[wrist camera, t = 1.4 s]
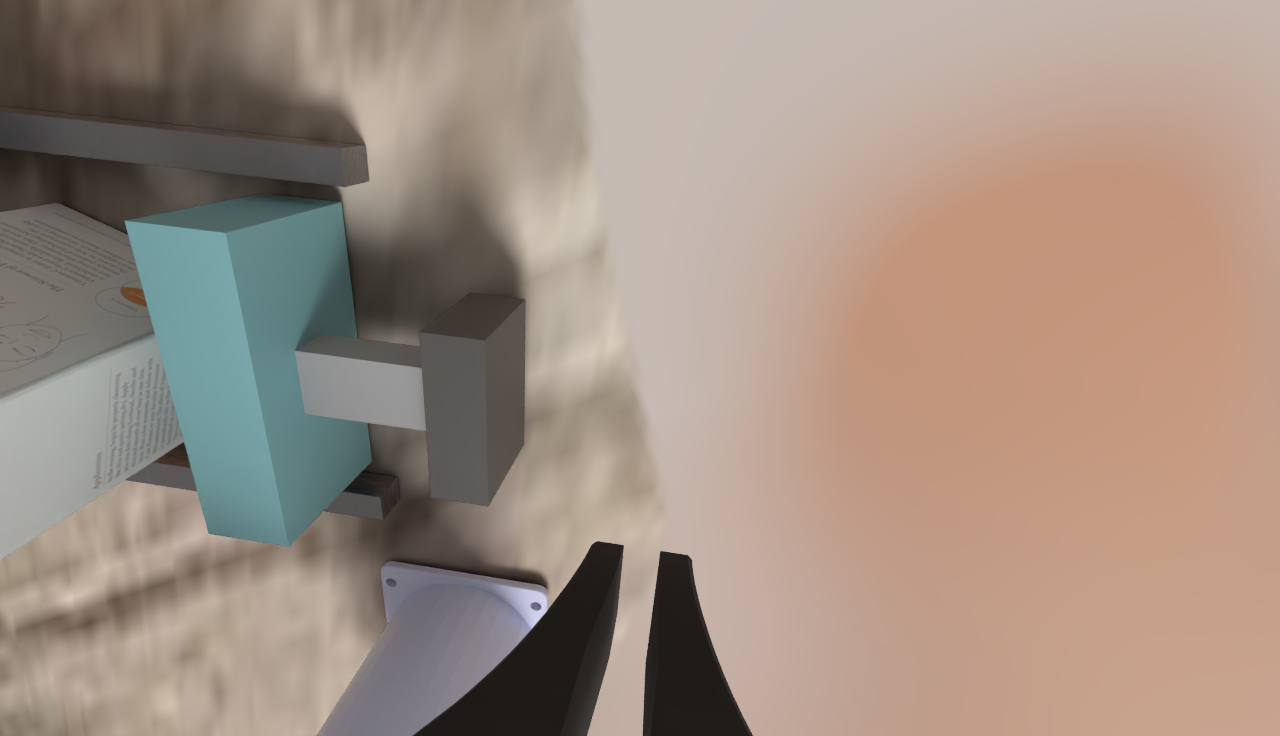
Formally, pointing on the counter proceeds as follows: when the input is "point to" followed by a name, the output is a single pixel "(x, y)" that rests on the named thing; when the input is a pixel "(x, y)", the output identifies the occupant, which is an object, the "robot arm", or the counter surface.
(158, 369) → the small box
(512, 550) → the counter surface
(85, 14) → the counter surface
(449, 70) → the counter surface
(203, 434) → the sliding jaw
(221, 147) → the vise
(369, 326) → the counter surface
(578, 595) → the robot arm
